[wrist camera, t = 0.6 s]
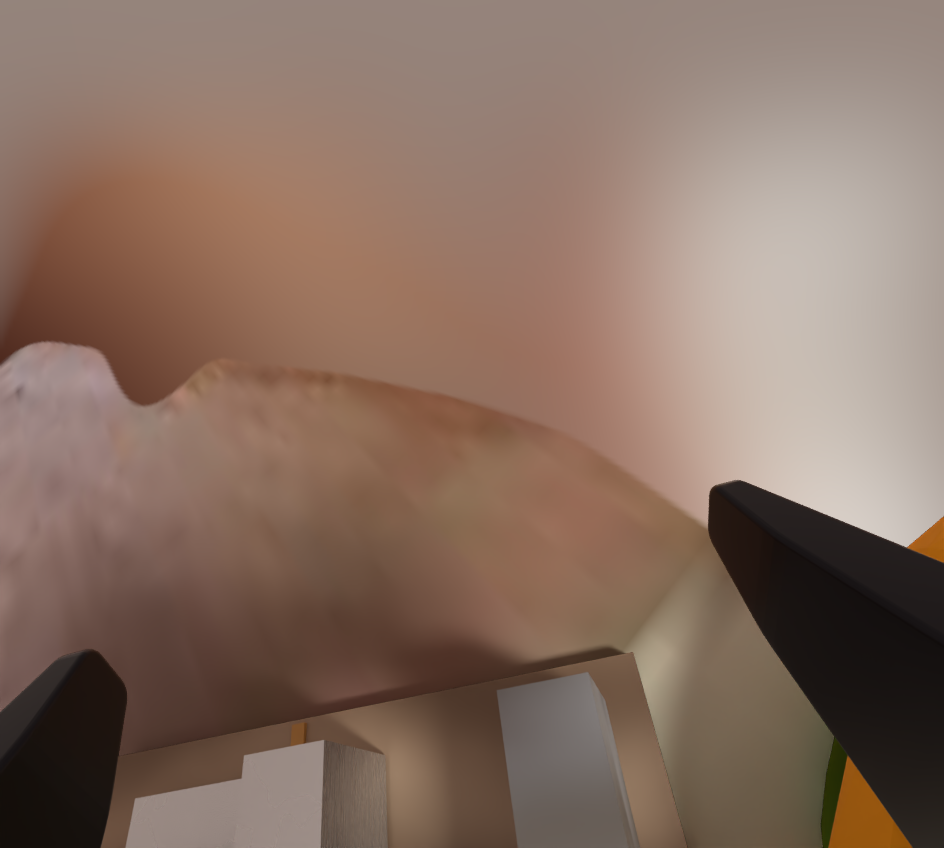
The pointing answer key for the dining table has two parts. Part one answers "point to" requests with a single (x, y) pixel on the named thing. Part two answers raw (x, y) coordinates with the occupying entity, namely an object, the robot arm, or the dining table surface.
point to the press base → (472, 763)
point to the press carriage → (275, 804)
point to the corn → (846, 792)
